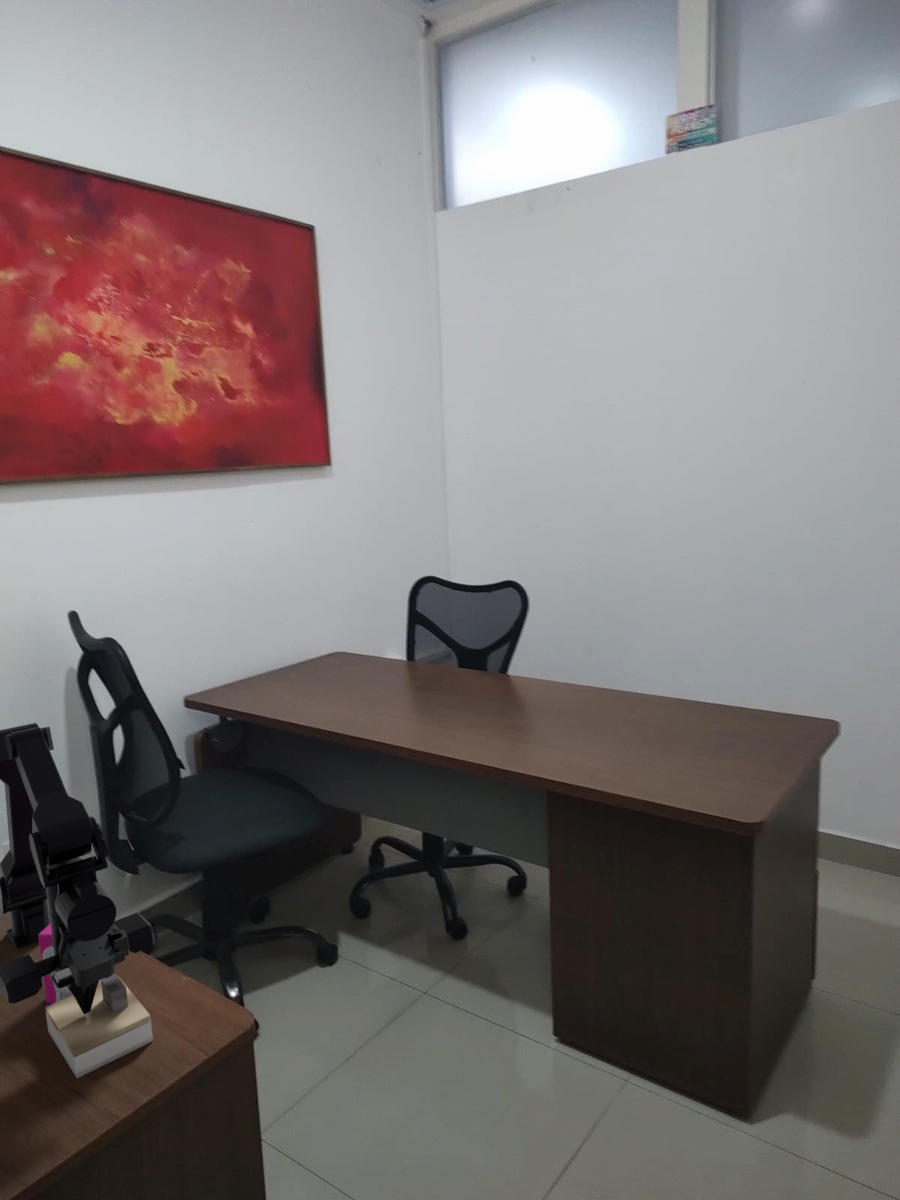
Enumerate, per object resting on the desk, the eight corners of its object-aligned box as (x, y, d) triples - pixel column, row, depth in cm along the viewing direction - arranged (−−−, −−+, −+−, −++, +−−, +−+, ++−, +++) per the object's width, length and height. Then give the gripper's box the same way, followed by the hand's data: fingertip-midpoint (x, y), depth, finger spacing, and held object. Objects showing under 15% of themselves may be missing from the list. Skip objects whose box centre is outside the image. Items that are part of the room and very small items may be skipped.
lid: (45, 1012, 116) (42, 987, 115) (118, 980, 122) (115, 957, 121) (74, 1057, 107) (70, 1030, 106) (150, 1020, 113) (148, 995, 112)
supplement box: (104, 982, 127) (95, 913, 125) (83, 1008, 121) (74, 936, 119) (67, 981, 127) (59, 912, 125) (45, 1007, 121) (36, 935, 119)
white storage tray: (48, 1032, 116) (45, 1012, 116) (120, 999, 123) (118, 981, 122) (76, 1078, 107) (74, 1057, 107) (153, 1040, 114) (150, 1021, 113)
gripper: (12, 962, 98) (28, 1079, 101) (166, 903, 110) (176, 1008, 113) (-12, 924, 107) (4, 1033, 109) (134, 873, 119) (145, 972, 121)
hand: (86, 1011), depth 113 cm, fingers closed
